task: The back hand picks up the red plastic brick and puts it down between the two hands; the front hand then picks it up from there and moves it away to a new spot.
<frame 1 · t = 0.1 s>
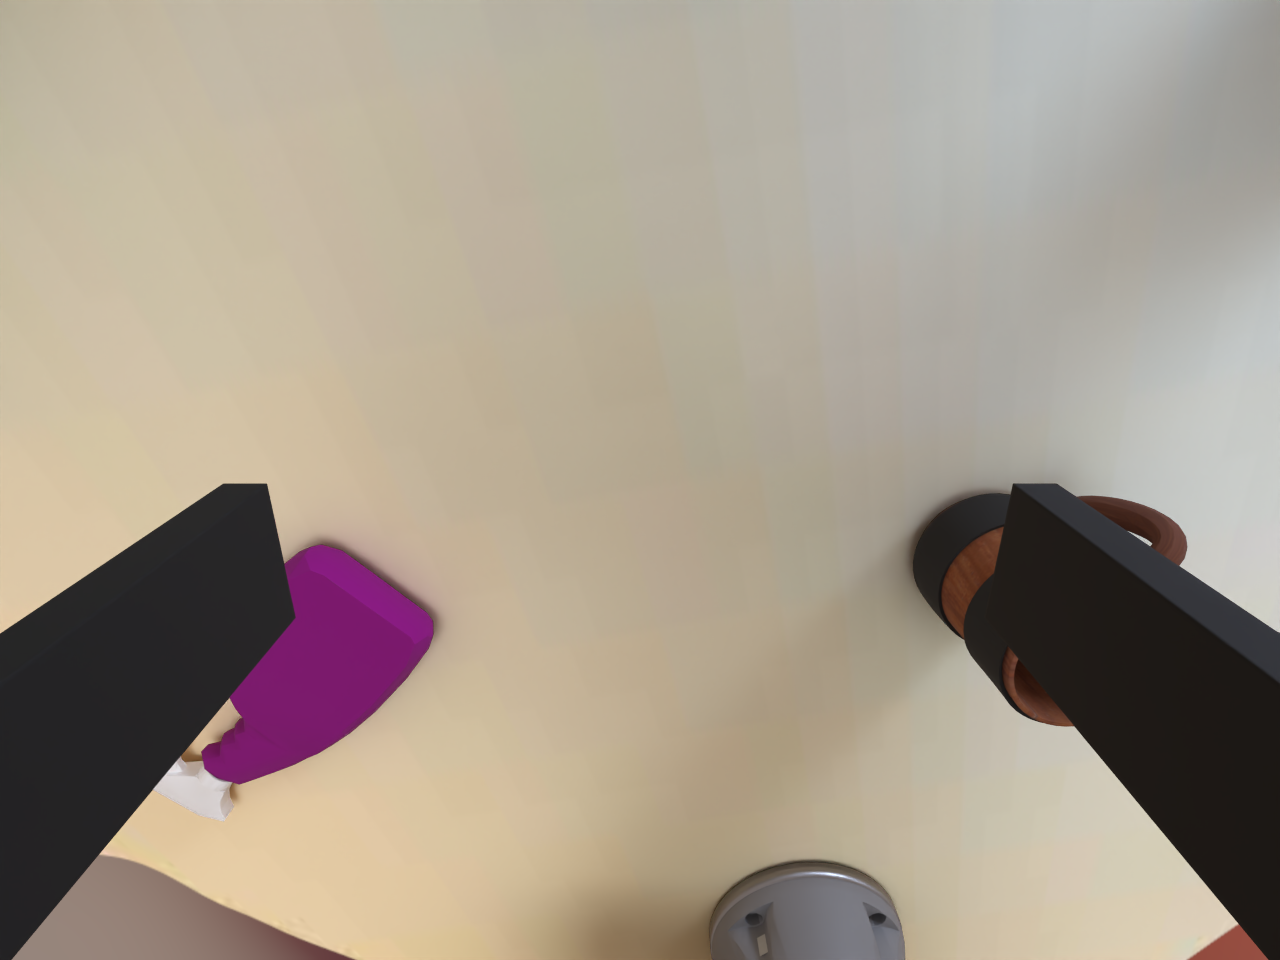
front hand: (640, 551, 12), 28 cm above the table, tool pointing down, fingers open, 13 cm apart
spray bottle: (282, 686, 48), on the table
mug: (996, 530, 43), on the table
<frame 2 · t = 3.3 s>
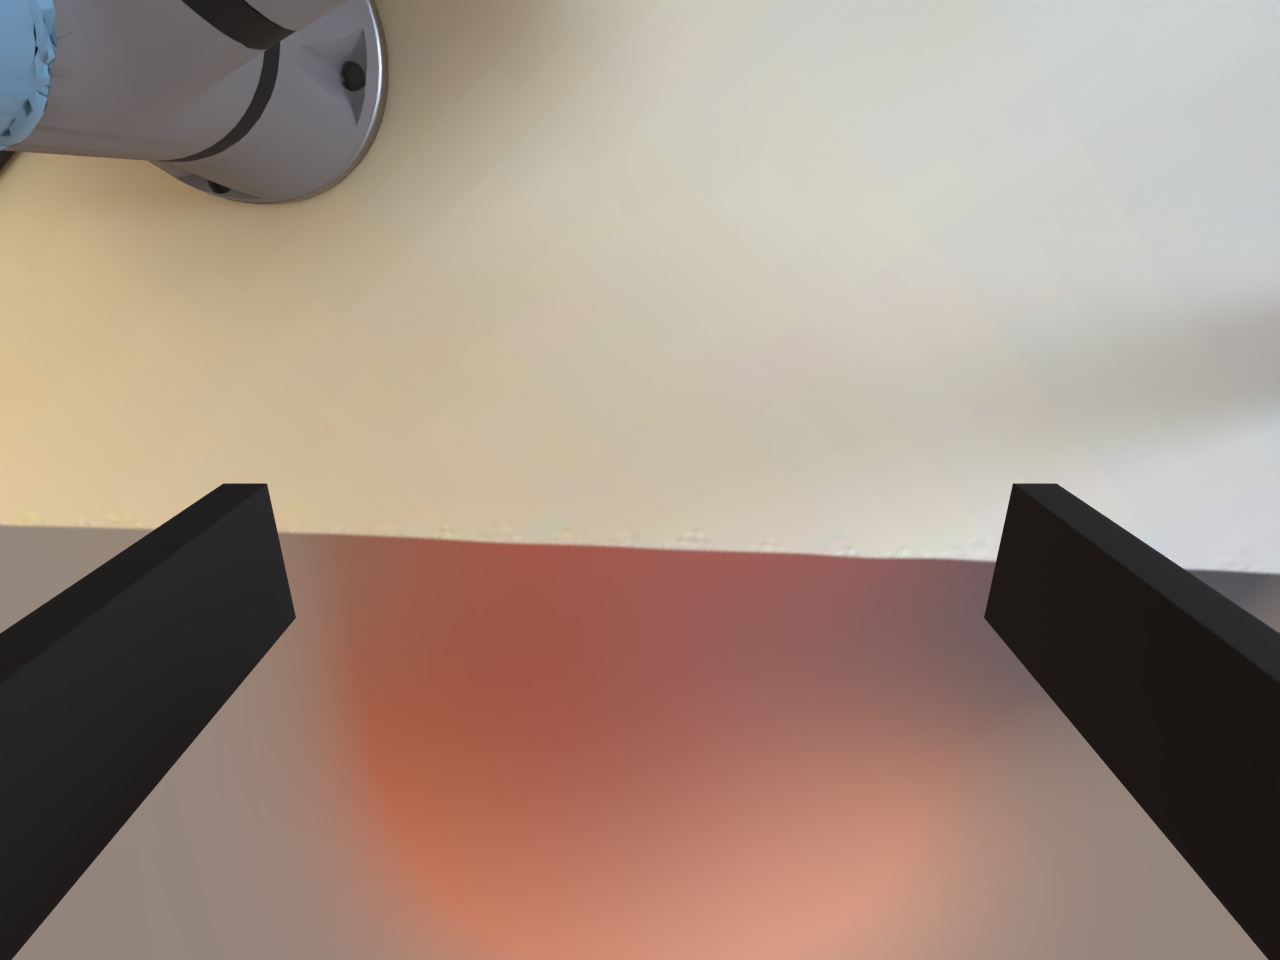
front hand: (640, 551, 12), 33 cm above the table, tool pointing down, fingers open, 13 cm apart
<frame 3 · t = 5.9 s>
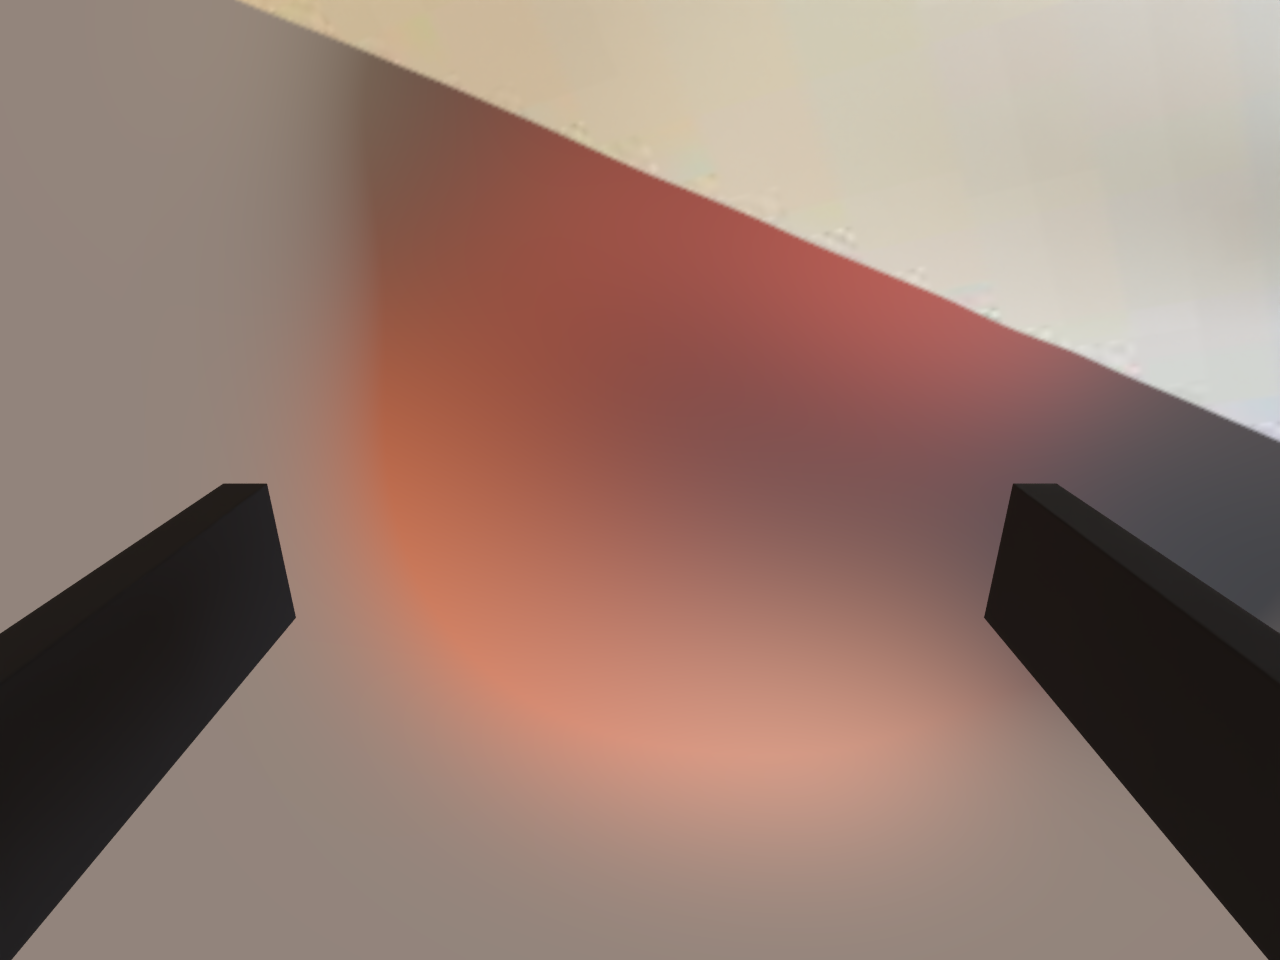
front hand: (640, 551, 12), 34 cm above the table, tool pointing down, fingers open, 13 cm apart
when the back hand's fingers open (3 cm above the table, at t = 8.9 s): brick drops 2 cm, on the table.
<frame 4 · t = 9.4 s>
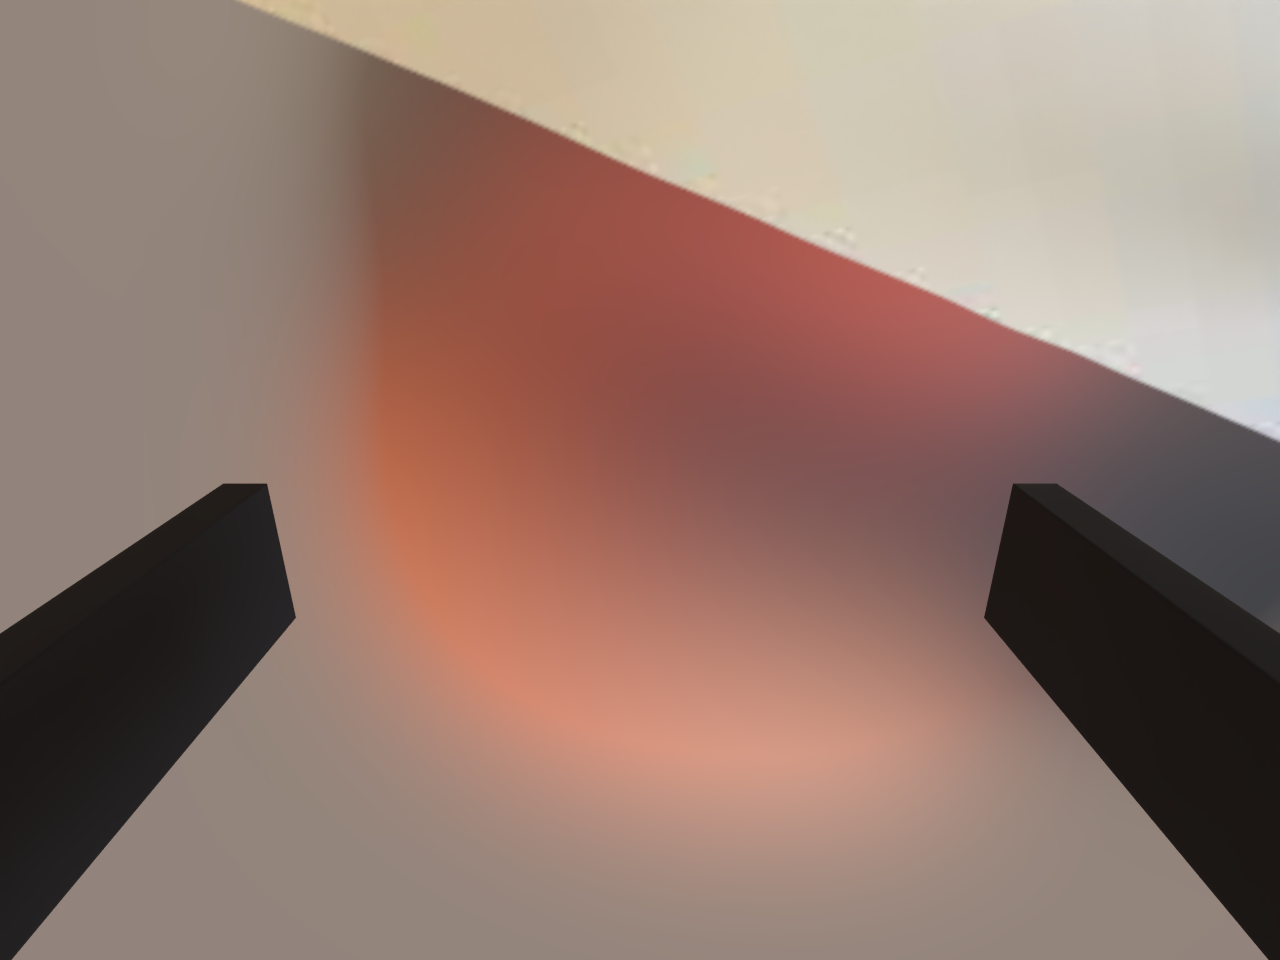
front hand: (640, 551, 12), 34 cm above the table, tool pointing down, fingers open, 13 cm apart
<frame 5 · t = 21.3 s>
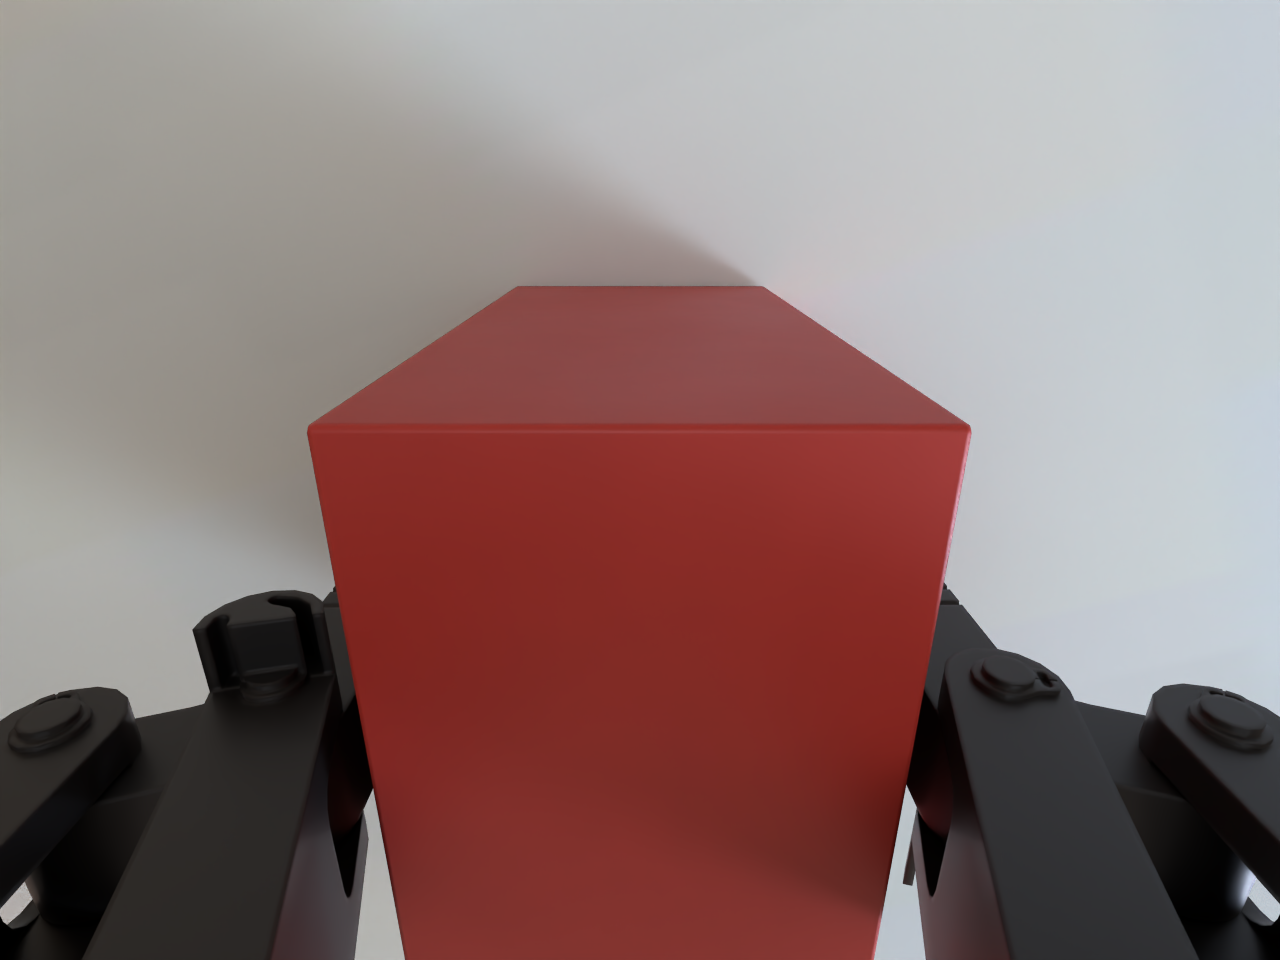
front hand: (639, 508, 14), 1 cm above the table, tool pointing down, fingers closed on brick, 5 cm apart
brick: (640, 481, 16), on the table, touching front hand
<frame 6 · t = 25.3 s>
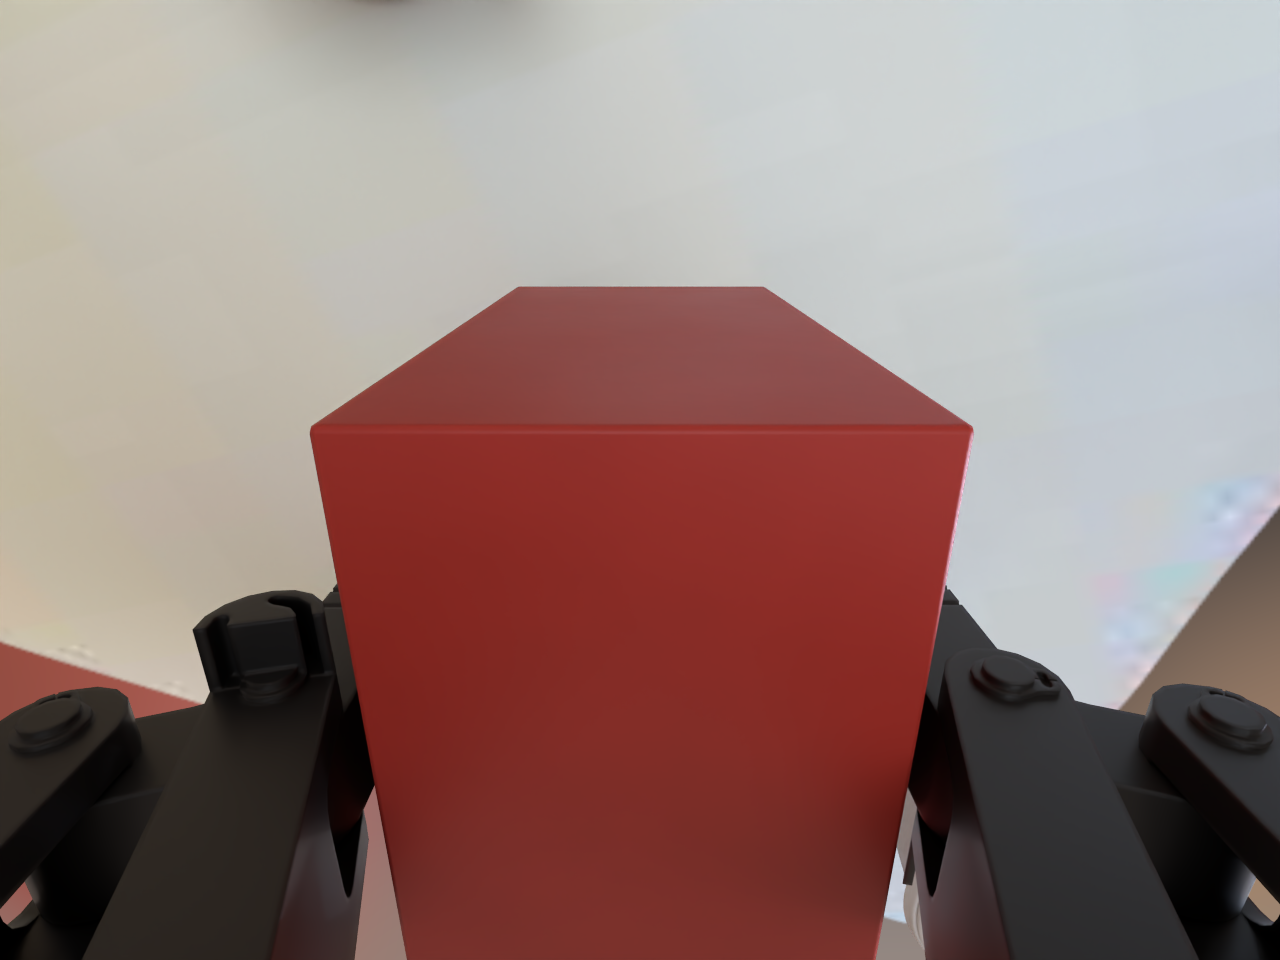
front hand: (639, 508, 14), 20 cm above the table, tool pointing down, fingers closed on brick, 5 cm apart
brick: (640, 481, 16), point 19 cm above the table, touching front hand
coffee cup: (908, 684, 40), on the table
when the front hand's fingers open (3 cm above the table, at t = 29.4 s): brick drops 2 cm, on the table.
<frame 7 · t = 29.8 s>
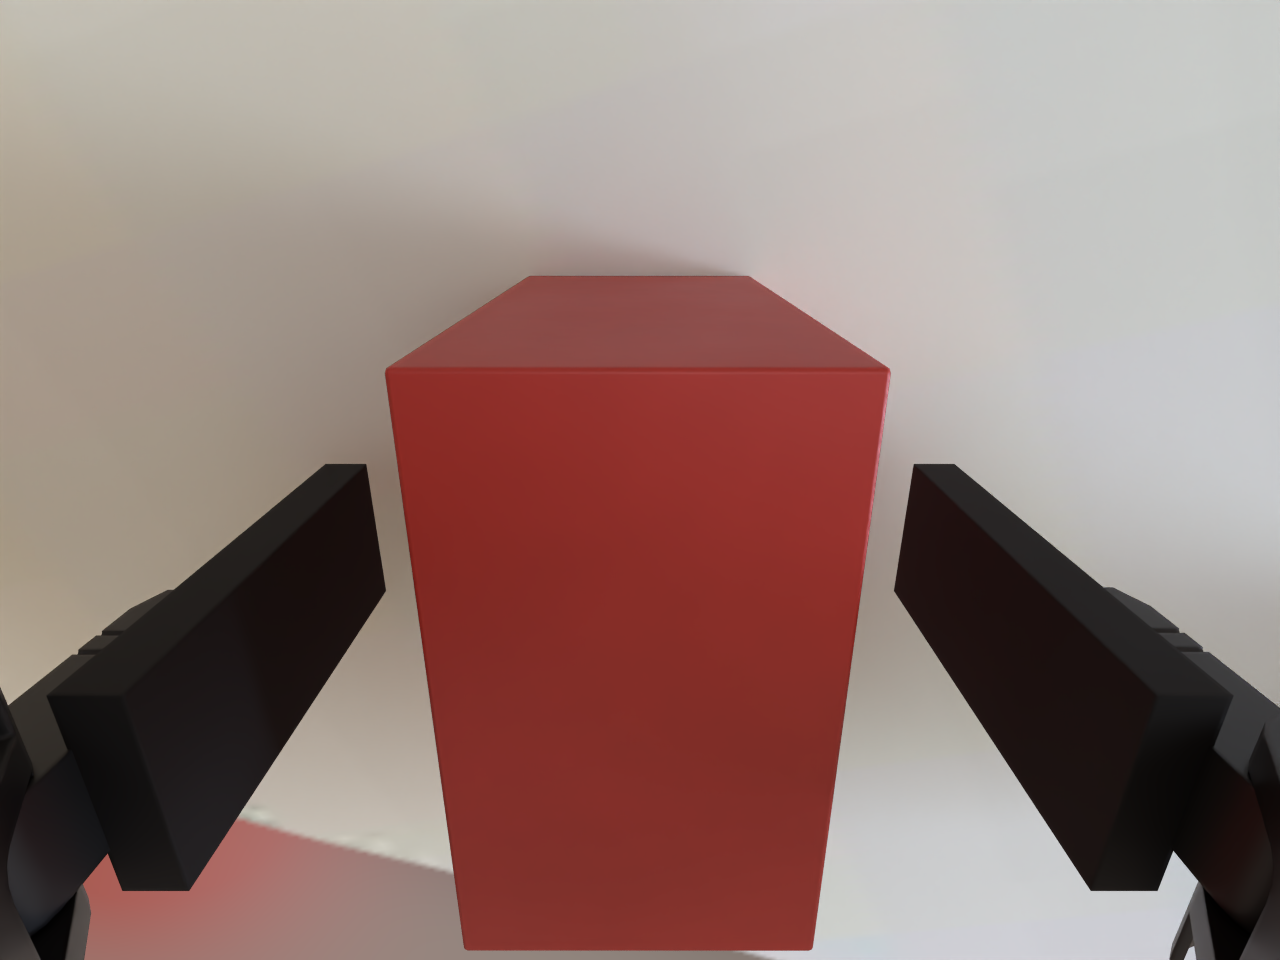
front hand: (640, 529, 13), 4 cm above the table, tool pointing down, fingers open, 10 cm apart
brick: (639, 453, 17), on the table
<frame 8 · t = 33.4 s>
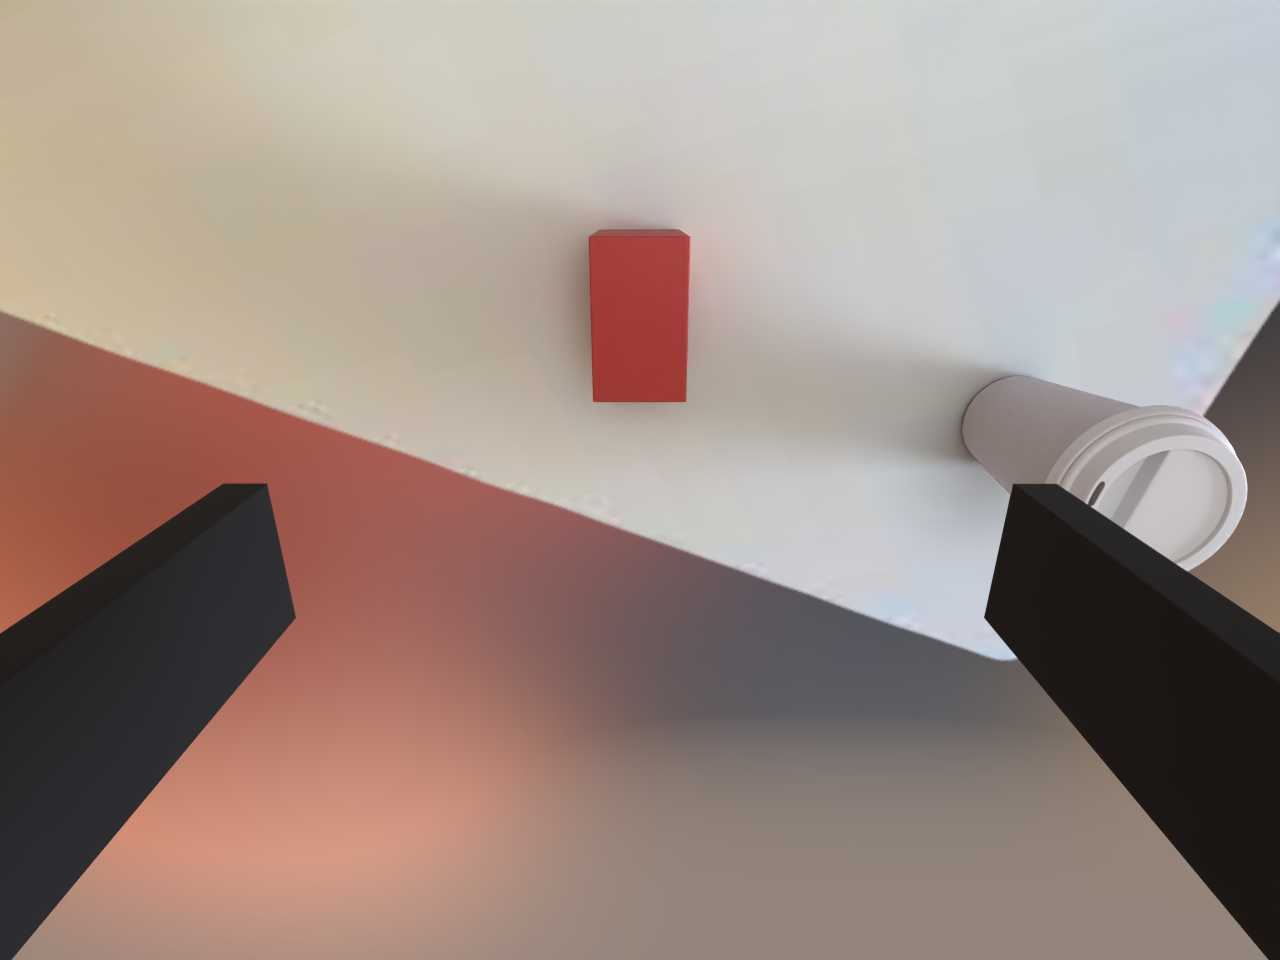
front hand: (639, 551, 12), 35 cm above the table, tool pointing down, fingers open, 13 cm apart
brick: (639, 299, 45), on the table
coffee cup: (1008, 421, 48), on the table
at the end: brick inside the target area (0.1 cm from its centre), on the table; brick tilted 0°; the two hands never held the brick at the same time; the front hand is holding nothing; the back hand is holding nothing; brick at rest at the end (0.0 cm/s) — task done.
